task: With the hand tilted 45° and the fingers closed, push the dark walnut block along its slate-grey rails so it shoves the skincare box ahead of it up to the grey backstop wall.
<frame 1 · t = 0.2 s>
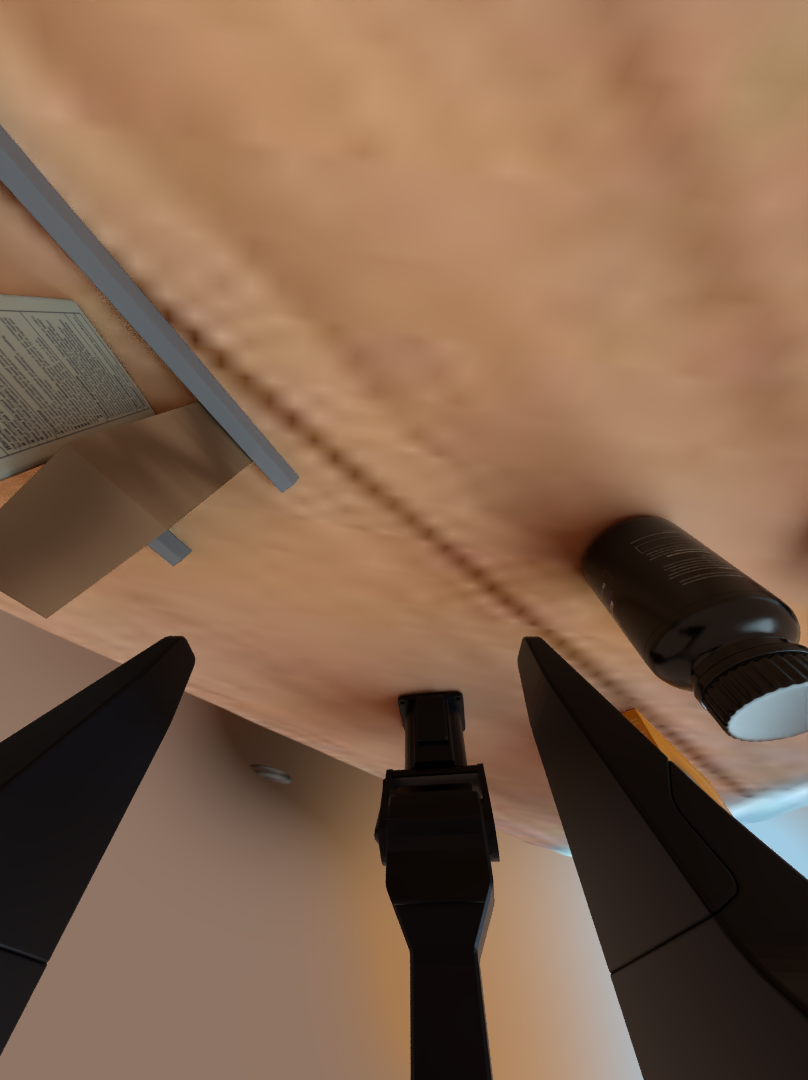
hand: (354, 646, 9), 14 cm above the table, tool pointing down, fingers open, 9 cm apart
supplement bottle: (626, 553, 24), on the table
walnut block: (133, 498, 17), point 5 cm above the table, slide at 0.0 cm
skincare box: (96, 379, 19), resting in backstop rail
cereal box: (648, 756, 40), on the table
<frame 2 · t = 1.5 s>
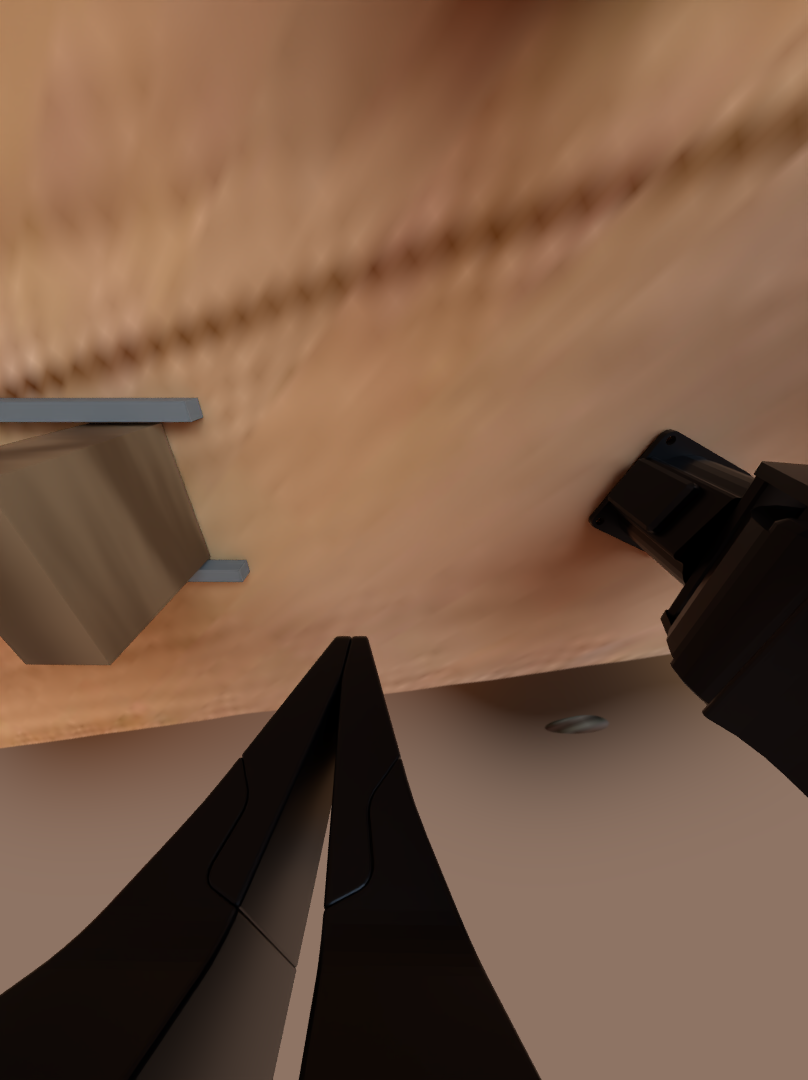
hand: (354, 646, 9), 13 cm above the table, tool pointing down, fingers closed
walnut block: (99, 532, 17), point 5 cm above the table, slide at 0.0 cm
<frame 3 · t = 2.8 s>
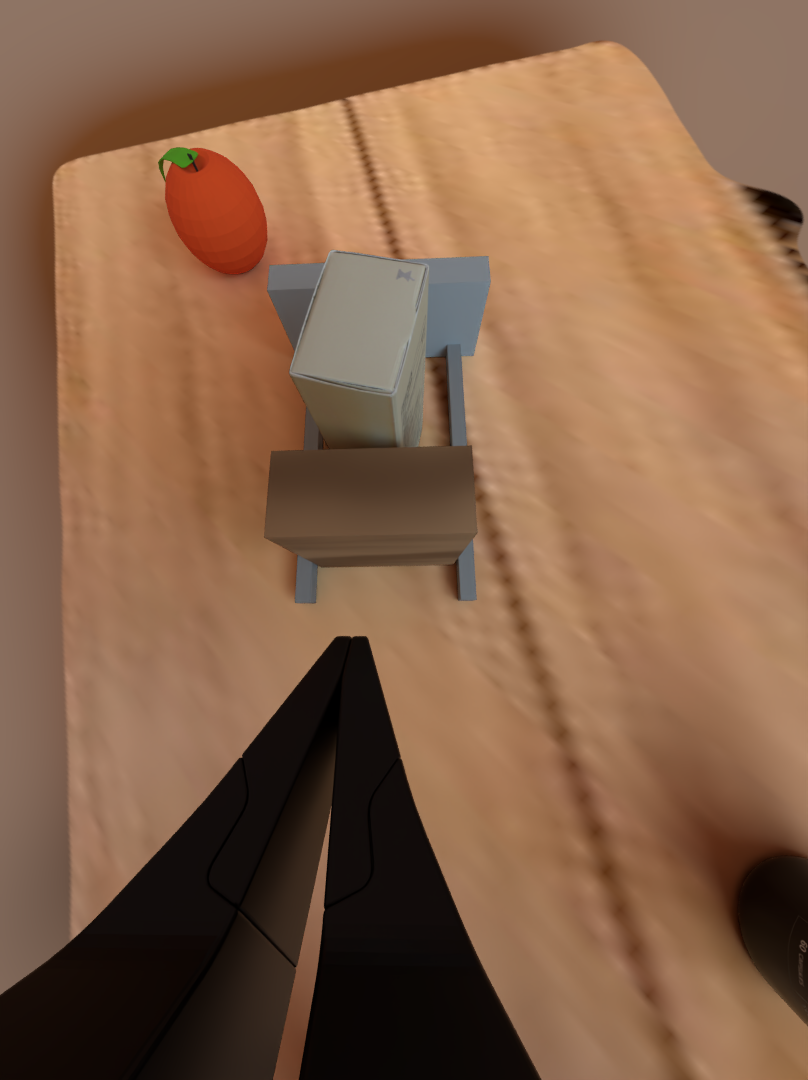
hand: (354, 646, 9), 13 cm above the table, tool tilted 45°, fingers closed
backstop rail: (385, 348, 27), on the table
red rounded fruit: (238, 263, 29), on the table
supplement bottle: (793, 921, 18), on the table
walnut block: (380, 519, 19), point 5 cm above the table, slide at 0.0 cm
skincare box: (386, 459, 25), resting in backstop rail
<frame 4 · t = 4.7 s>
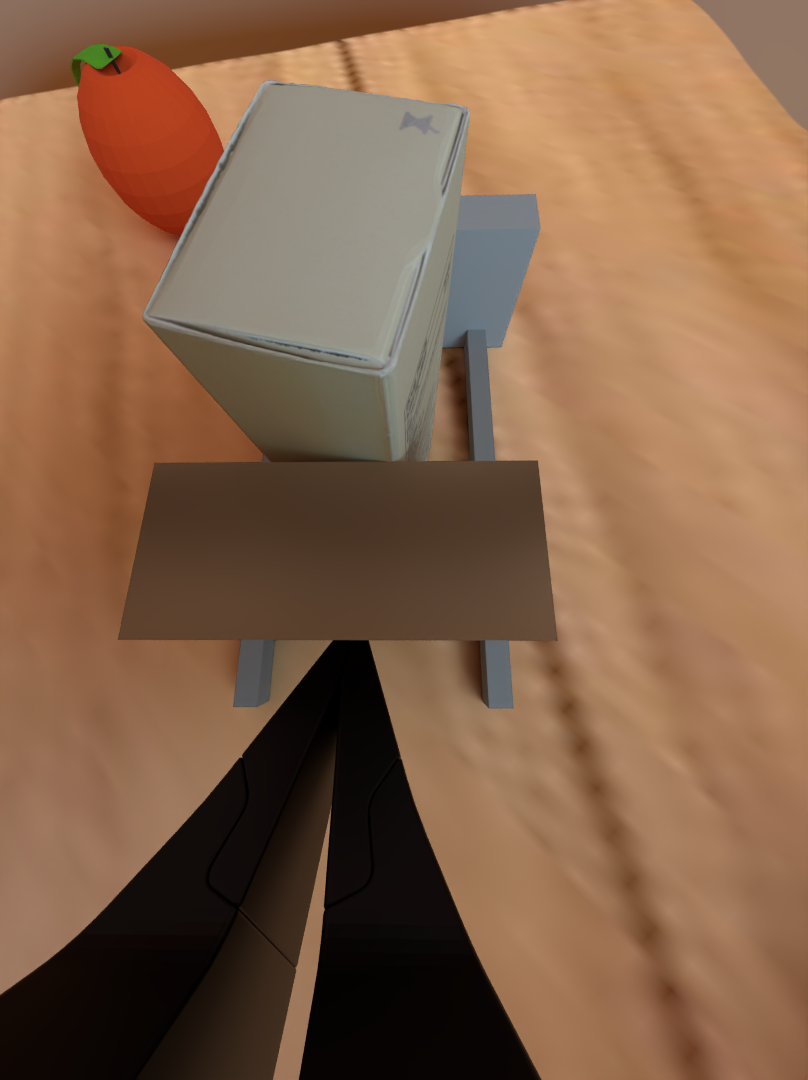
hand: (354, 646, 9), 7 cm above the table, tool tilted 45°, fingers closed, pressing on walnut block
backstop rail: (383, 334, 20), on the table
red rounded fruit: (194, 225, 23), on the table
walnut block: (366, 574, 12), point 5 cm above the table, slide at 0.6 cm, touching gripper, skincare box
skincare box: (380, 486, 18), resting in backstop rail, touching walnut block
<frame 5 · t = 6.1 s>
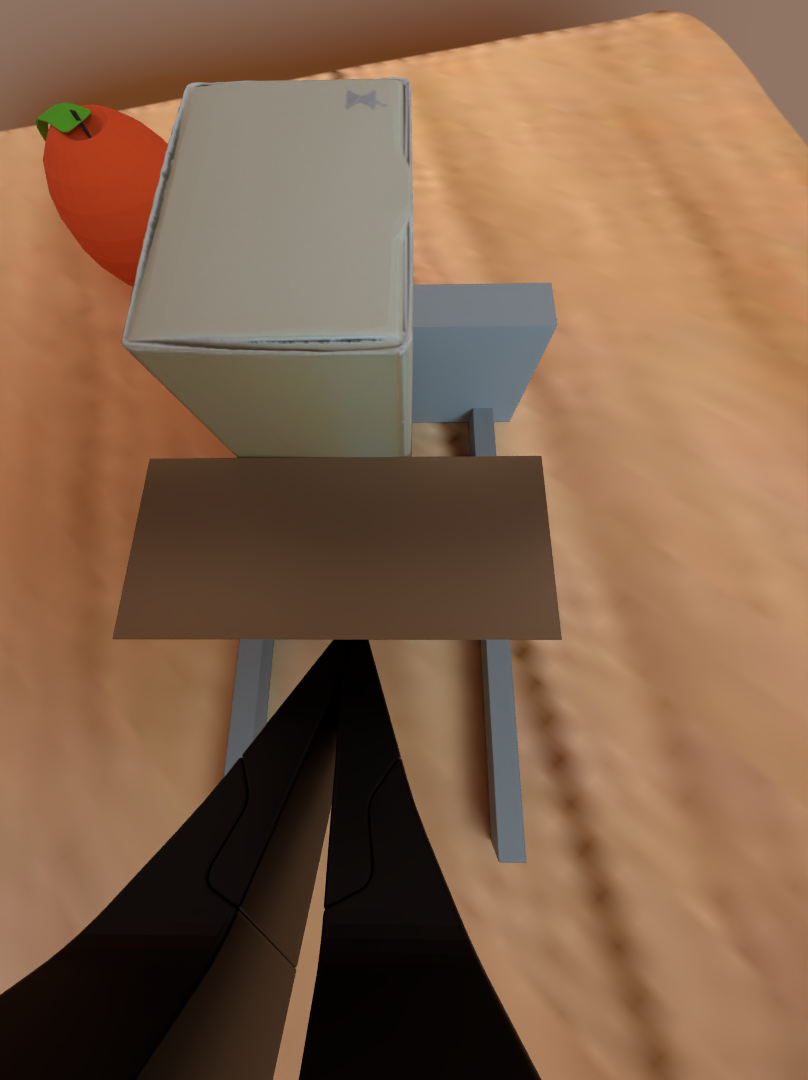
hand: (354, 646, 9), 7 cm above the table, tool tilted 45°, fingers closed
backstop rail: (381, 406, 18), on the table
red rounded fruit: (178, 279, 21), on the table
walnut block: (366, 573, 11), point 5 cm above the table, slide at 5.8 cm, touching skincare box
skincare box: (369, 492, 17), resting in backstop rail, touching walnut block
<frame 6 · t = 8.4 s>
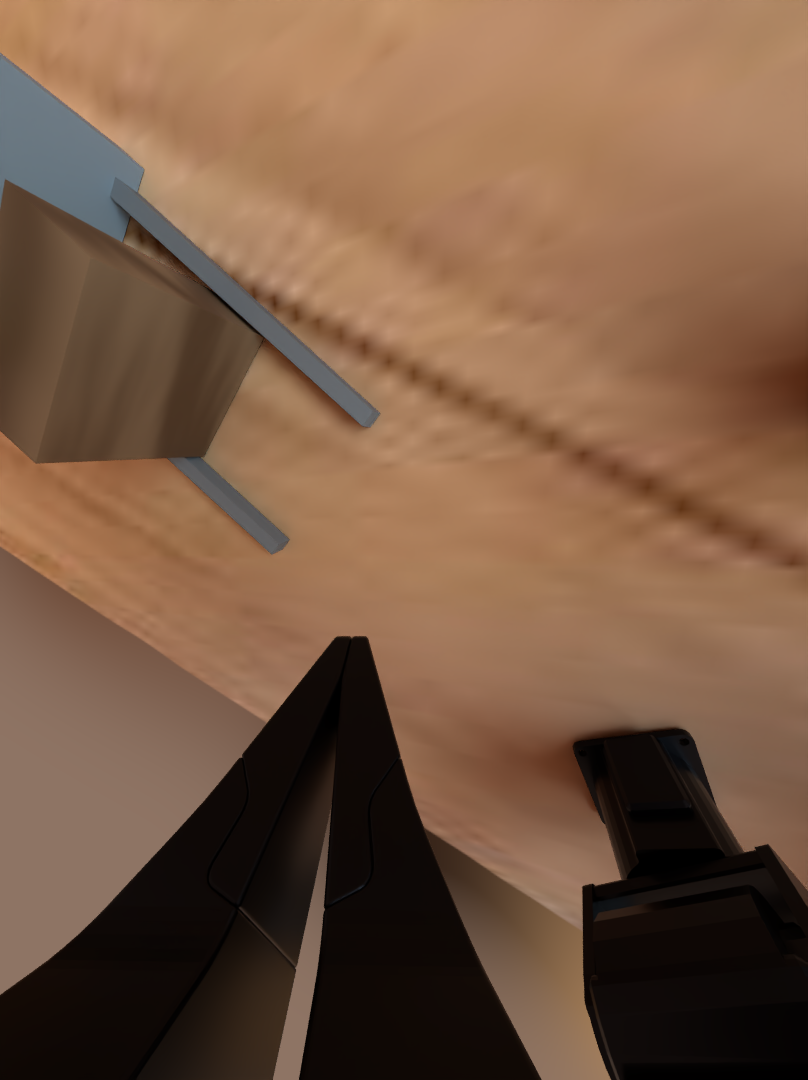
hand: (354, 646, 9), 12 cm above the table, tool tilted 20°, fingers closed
backstop rail: (97, 278, 21), on the table
walnut block: (138, 365, 17), point 5 cm above the table, slide at 5.8 cm, touching skincare box
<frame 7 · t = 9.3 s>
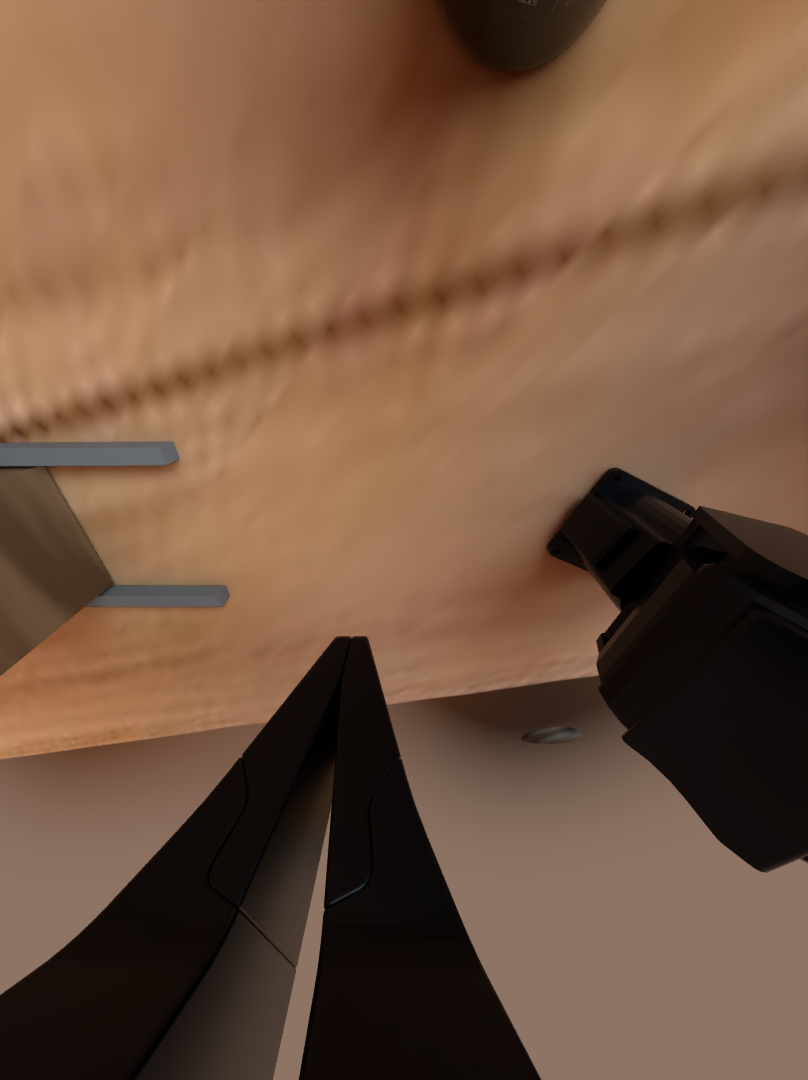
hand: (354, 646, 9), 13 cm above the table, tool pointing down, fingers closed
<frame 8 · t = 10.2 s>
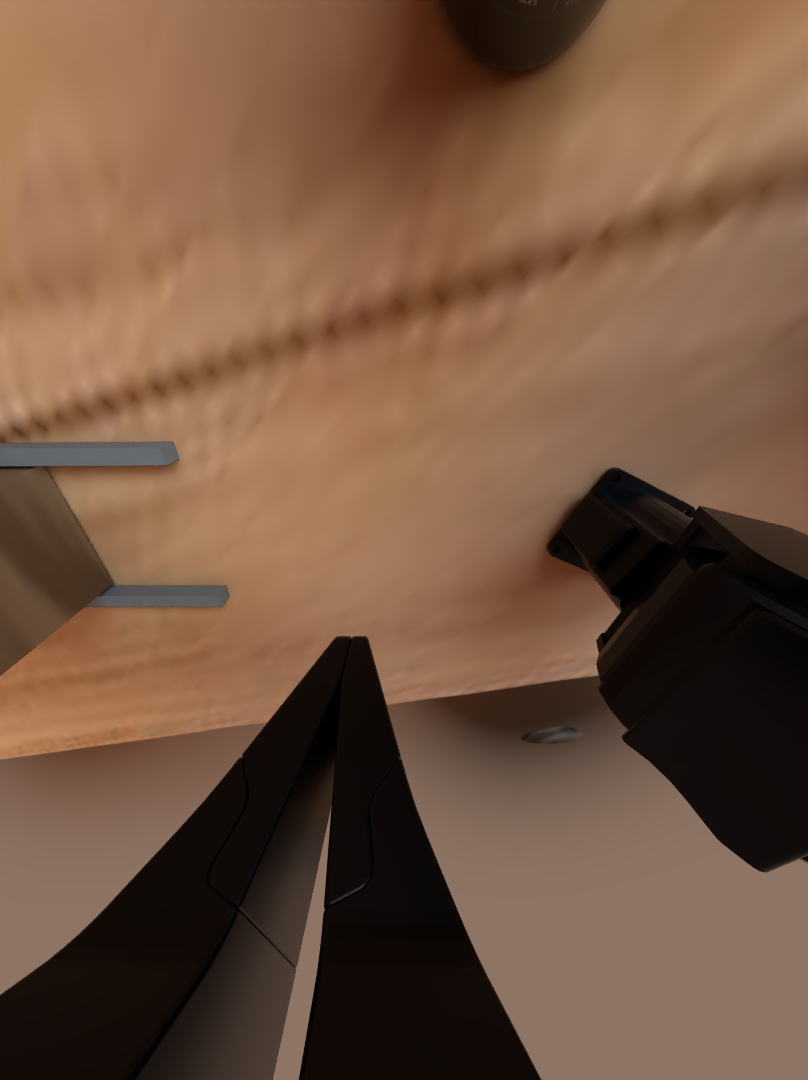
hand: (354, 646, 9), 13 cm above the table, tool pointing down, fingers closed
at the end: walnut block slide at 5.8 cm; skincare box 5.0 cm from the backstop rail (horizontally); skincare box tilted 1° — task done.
